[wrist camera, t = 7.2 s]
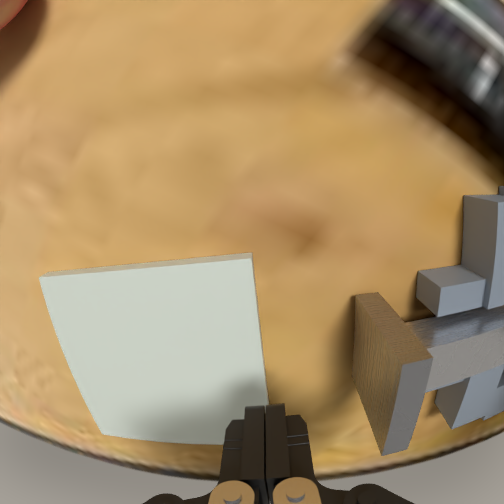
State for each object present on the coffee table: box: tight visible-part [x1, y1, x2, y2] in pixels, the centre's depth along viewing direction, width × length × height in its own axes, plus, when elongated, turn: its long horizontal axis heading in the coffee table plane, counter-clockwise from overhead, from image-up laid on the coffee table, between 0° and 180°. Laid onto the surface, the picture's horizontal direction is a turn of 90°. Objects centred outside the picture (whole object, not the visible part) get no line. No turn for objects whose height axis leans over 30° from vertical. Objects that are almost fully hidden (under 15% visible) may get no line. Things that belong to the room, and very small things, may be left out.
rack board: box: [39, 253, 269, 445], centre depth 16 cm, size 12×12×1 cm
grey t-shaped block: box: [352, 292, 504, 456], centre depth 12 cm, size 5×9×6 cm, turn 96°
